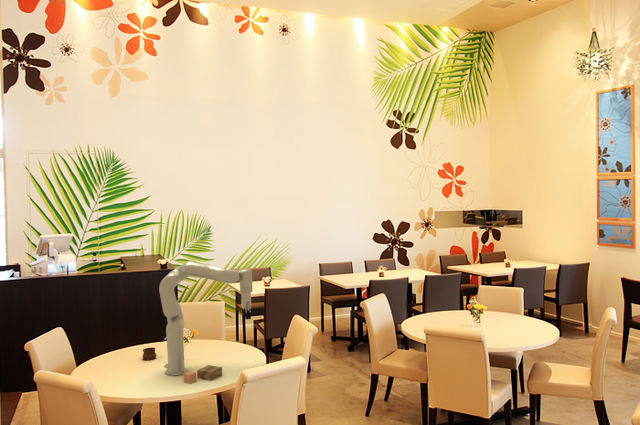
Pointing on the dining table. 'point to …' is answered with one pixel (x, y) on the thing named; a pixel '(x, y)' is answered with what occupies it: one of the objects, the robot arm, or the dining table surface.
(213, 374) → the block
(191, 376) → the terracotta cube
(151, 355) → the brown pouch
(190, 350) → the dining table surface
